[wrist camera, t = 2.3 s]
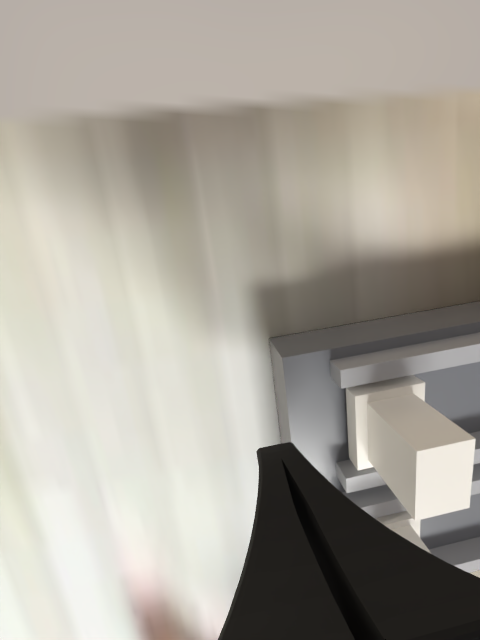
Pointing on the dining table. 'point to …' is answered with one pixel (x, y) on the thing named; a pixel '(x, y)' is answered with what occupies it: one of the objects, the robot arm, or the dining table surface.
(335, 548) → the robot arm
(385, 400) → the tab near
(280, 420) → the switch bank
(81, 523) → the dining table surface
